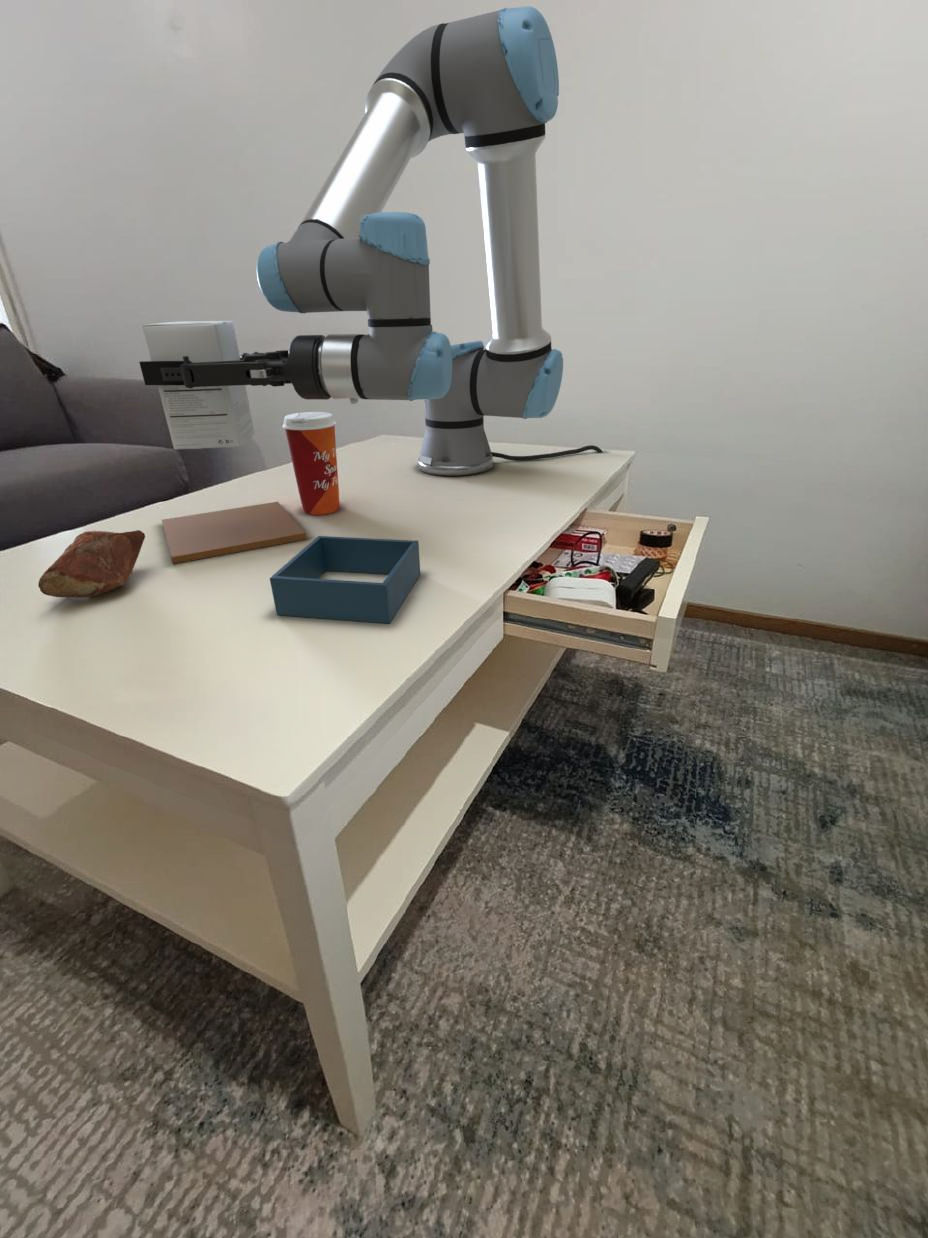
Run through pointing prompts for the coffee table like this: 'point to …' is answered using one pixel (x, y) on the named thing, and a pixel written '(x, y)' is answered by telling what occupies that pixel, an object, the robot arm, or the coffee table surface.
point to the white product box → (201, 410)
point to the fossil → (93, 564)
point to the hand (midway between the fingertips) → (172, 368)
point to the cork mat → (229, 531)
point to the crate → (347, 599)
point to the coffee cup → (314, 460)
